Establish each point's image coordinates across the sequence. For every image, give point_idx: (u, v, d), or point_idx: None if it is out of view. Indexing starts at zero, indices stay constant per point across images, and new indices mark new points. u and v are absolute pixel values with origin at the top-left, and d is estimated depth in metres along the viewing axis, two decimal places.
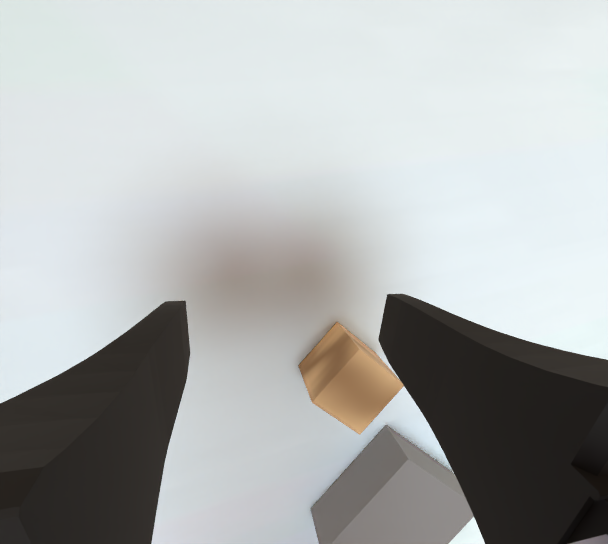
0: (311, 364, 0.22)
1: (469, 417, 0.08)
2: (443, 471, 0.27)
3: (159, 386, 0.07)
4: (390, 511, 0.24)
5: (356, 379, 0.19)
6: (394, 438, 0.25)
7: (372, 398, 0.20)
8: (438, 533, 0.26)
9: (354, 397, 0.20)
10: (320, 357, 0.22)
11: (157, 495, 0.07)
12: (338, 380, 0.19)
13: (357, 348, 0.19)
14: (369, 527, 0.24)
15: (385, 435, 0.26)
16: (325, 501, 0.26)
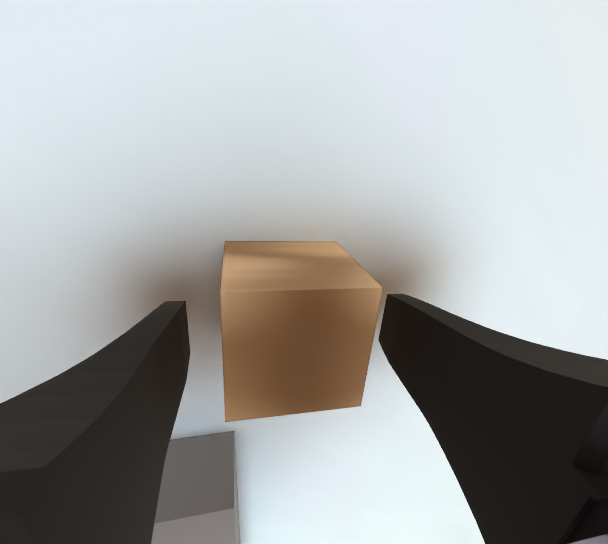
0: (255, 252, 0.11)
1: (469, 417, 0.08)
2: None
3: (159, 386, 0.07)
4: None
5: (323, 330, 0.09)
6: (233, 459, 0.14)
7: (306, 383, 0.10)
8: None
9: (288, 356, 0.09)
10: (280, 255, 0.11)
11: (157, 495, 0.07)
12: (299, 303, 0.08)
13: (377, 284, 0.09)
14: None
15: (222, 444, 0.15)
16: None
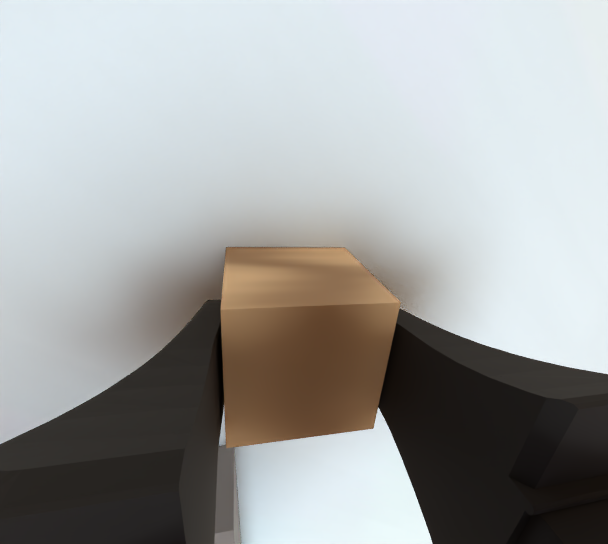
0: (258, 260, 0.10)
1: (423, 423, 0.07)
2: None
3: (216, 381, 0.07)
4: None
5: (335, 349, 0.08)
6: (232, 475, 0.13)
7: (314, 406, 0.09)
8: None
9: (295, 378, 0.08)
10: (286, 264, 0.10)
11: (216, 485, 0.07)
12: (308, 320, 0.07)
13: (393, 299, 0.08)
14: None
15: (221, 459, 0.14)
16: None
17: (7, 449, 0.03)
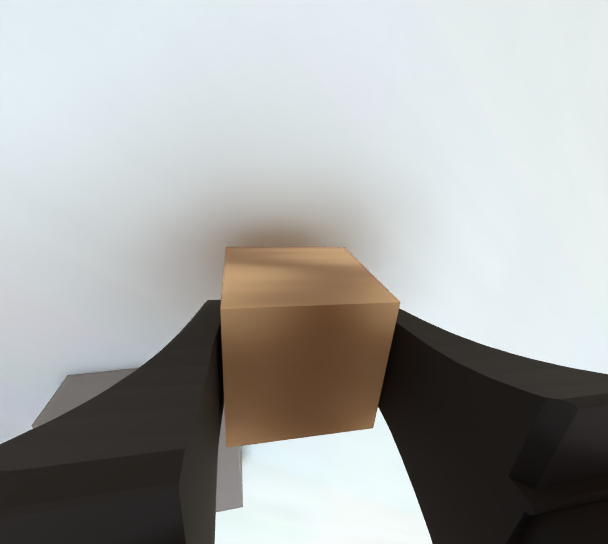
0: (258, 260, 0.10)
1: (423, 423, 0.07)
2: None
3: (216, 381, 0.07)
4: None
5: (335, 349, 0.08)
6: None
7: (314, 405, 0.09)
8: None
9: (295, 377, 0.08)
10: (285, 263, 0.10)
11: (216, 486, 0.07)
12: (308, 320, 0.07)
13: (393, 298, 0.08)
14: None
15: None
16: (94, 380, 0.18)
17: (7, 449, 0.03)
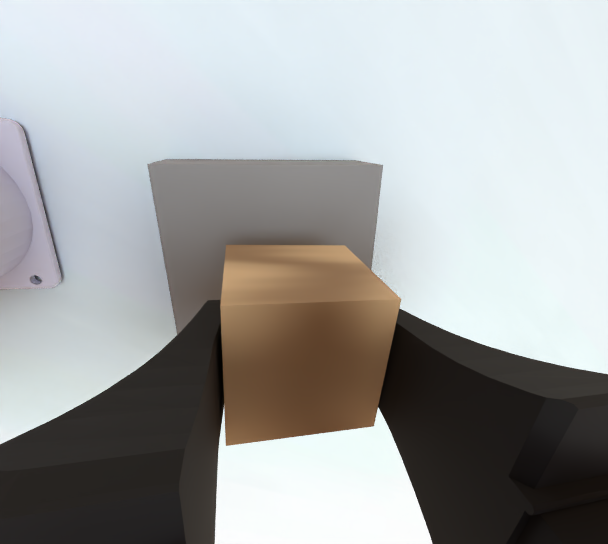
0: (258, 258, 0.10)
1: (423, 423, 0.07)
2: None
3: (216, 381, 0.07)
4: (290, 219, 0.14)
5: (335, 346, 0.08)
6: (364, 163, 0.16)
7: (314, 403, 0.09)
8: None
9: (295, 375, 0.08)
10: (286, 261, 0.10)
11: (216, 486, 0.07)
12: (308, 317, 0.07)
13: (394, 295, 0.08)
14: (246, 209, 0.13)
15: (349, 161, 0.16)
16: (201, 160, 0.15)
17: (7, 449, 0.03)
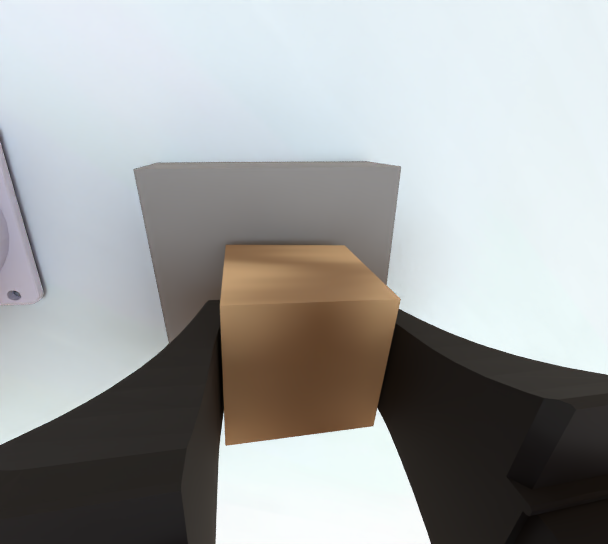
0: (258, 258, 0.10)
1: (421, 423, 0.07)
2: None
3: (217, 381, 0.07)
4: (297, 229, 0.12)
5: (334, 346, 0.08)
6: (377, 164, 0.14)
7: (314, 403, 0.09)
8: None
9: (295, 375, 0.08)
10: (285, 261, 0.10)
11: (216, 486, 0.07)
12: (308, 317, 0.07)
13: (393, 295, 0.08)
14: (247, 218, 0.12)
15: (361, 162, 0.15)
16: (196, 163, 0.13)
17: (9, 449, 0.03)
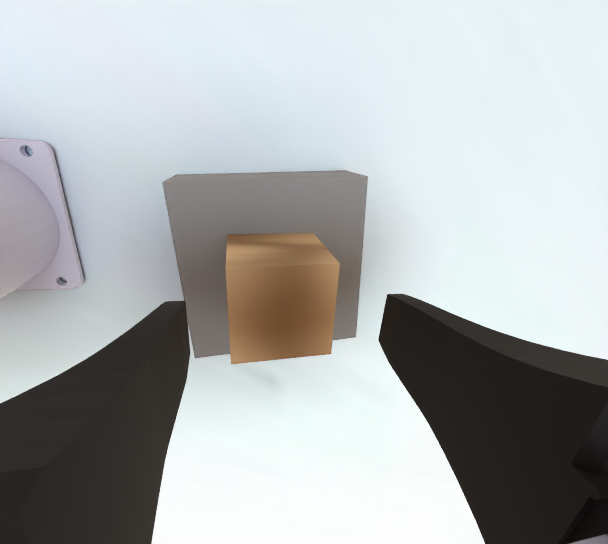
0: (250, 242, 0.14)
1: (469, 417, 0.08)
2: None
3: (159, 386, 0.07)
4: (287, 226, 0.16)
5: (299, 295, 0.12)
6: (352, 173, 0.18)
7: (288, 335, 0.13)
8: None
9: (274, 314, 0.13)
10: (268, 243, 0.14)
11: (157, 495, 0.07)
12: (280, 275, 0.12)
13: (336, 261, 0.12)
14: (248, 218, 0.15)
15: (340, 171, 0.18)
16: (207, 175, 0.17)
17: None
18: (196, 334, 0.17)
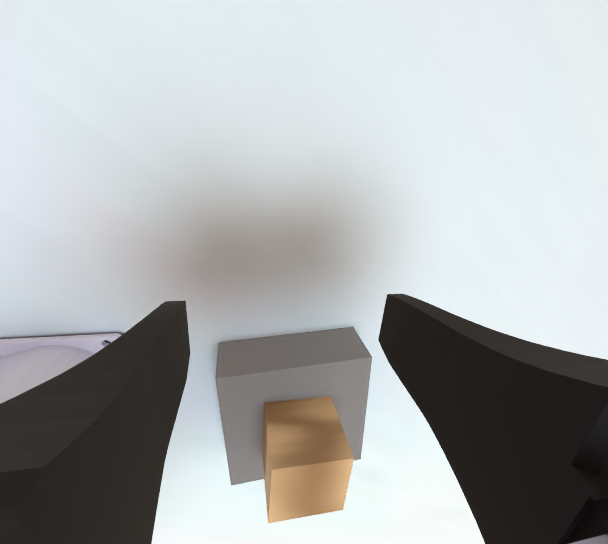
0: (284, 418, 0.19)
1: (469, 417, 0.08)
2: None
3: (159, 386, 0.07)
4: (308, 394, 0.20)
5: (322, 478, 0.17)
6: (359, 338, 0.22)
7: (312, 502, 0.17)
8: None
9: (303, 491, 0.17)
10: (298, 421, 0.19)
11: (157, 495, 0.07)
12: (310, 469, 0.16)
13: (351, 455, 0.17)
14: (278, 392, 0.20)
15: (349, 332, 0.23)
16: (244, 345, 0.21)
17: None
18: (233, 469, 0.22)
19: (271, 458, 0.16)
